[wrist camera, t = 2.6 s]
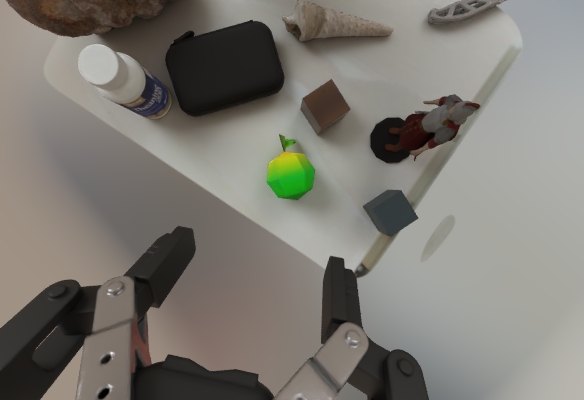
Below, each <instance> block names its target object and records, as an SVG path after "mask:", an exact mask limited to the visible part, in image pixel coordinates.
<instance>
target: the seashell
mask: <svg viewBox="0 0 584 400" xmlns="http://www.w3.org/2000/svg"><path fill="white" fill-rule="evenodd" d="M282 16H283V17H282V20H283V21H284V22H285V25H286V29H287V31H288V32H290V33H296V35H297V36H298V38H299V39H300V41H301V42H303V41H305V40H312V39H313V38H323V39H324V38H326V37H334V36H335V37H337V36H347V37H349V36H389V35H391V33H392V32H393V30H394V29H392V28H389V27H386V26H384V25H381V24H378V23H374V22H372V21H368V20H364V19H362V18H357V17H353V16H351V15H347V14H343V12H336V11H334V10H332V9H326V8H322V7H320V6H317V5H316V4H314V3H311V4H310V3H309V2H305V1H302V0H298V1H297V4H296V7H295V9H294V11H293V13H292V15H291V16H290V17H289V16H287V17H285V16H284V15H282Z"/></svg>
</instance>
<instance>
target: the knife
mask: <svg viewBox="0 0 584 400" xmlns="http://www.w3.org/2000/svg"><path fill="white" fill-rule="evenodd" d="M503 1H506V0H462V1H458V2H455V3H453V4H451V5H449V6H447V7H445V8H443V9H436V8H435V9H432V10H431V11H430V13H429V14H428V22H430V23H433V24H454V23H458V22H462V21H465V20H467V19H470V18H472V17H474V16H476V15H478V14H480V13H482V12H484V11H486V10H488V9H491V8H493V7H495V6H496V5H497V4H500V3H501V2H503ZM474 3H478V4H477V5H475V6H473V7H472V6H470V5H472V4H474ZM459 8H463V10H461V11H460V13H457V14H455V15H454V16H453V13H454V10H455V9H459ZM442 14H445V17H441V16H440V15H442Z"/></svg>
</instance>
